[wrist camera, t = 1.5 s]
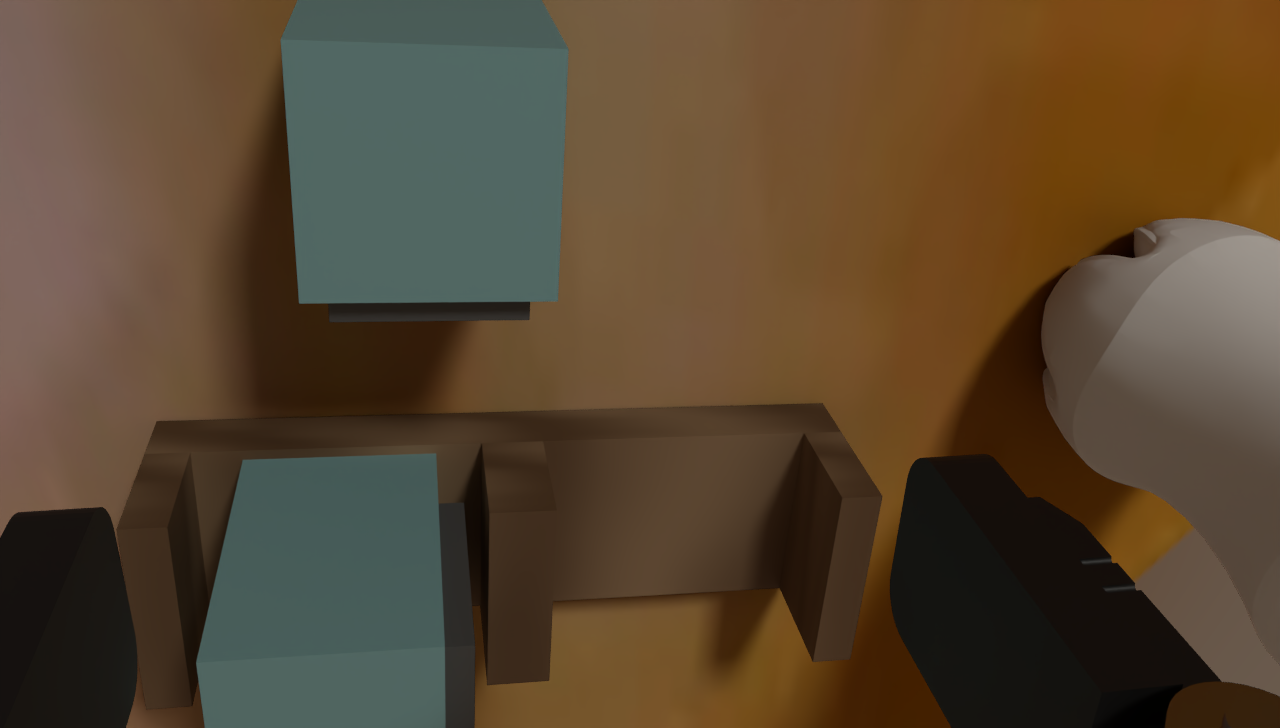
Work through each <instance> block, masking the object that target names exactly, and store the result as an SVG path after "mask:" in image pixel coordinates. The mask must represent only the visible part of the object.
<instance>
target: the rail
mask: <svg viewBox="0 0 1280 728" xmlns="http://www.w3.org/2000/svg"><path fill="white" fill-rule="evenodd" d="M434 453H436V460H437V482H438V504H440V503H464V511H465V524H466V537H467V549H468V562H469V575H470V587H471V600H472V606H479V605H480V609H481V620H482V631H483V642H484V654H485V665H486V676H487V685H496V684H510V683H524V682H538V681H549V674H550V652H551V630H552V608H553V601H564V600H582V599H599V598H616V597H633V596H650V595H667V594H684V593H702V592H719V591H736V590H753V589H770V588H780V590H781V592H782V594H783V596H784V599H785V601H786V603H787V605H788V607H789V610H790V612H791V614H792V616H793V619H794V621H795V623H796V625H797V627H798V630H799V632H800V634H801V636H802V639H803V641H804V643H805V645H806V648H807V650H808V652H809V654H810V656H811V659H812V661H813V662H818V661H832V660H846V659H850V657H851V652H852V647H853V642H854V637H855V632H856V627H857V622H858V617H859V612H860V607H861V602H862V597H863V592H864V587H865V582H866V577H867V572H868V567H869V561H870V556H871V551H872V546H873V541H874V536H875V531H876V526H877V521H878V516H879V511H880V506H881V501H882V495H881V493H880V492H879V490H878V489H877V487H876V486H875V484H874V483H873V481H872V479H871V478H870V476H869V475H868V473H867V472H866V470H865V469H864V467H863V465H862V464H861V462H860V461H859V459H858V458H857V456H856V455H855V453H854V451H853V450H852V448H851V447H850V445H849V444H848V442H847V441H846V439H845V437H844V436H843V434H842V433H841V431H840V430H839V428H838V427H837V425H836V423H835V422H834V420H833V419H832V417H831V416H830V414H829V413H828V411H827V409H826V408H825V406H824V405H823V403H822V404H785V405H747V406H710V407H673V408H636V409H599V410H561V411H524V412H487V413H450V414H413V415H375V416H338V417H301V418H264V419H227V420H189V421H157V422H156V425H155V428H154V430H153V433H152V436H151V438H150V441H149V444H148V446H147V449H146V452H145V454H144V457H143V460H142V463H141V465H140V468H139V471H138V473H137V476H136V479H135V481H134V484H133V487H132V489H131V492H130V495H129V497H128V500H127V503H126V506H125V508H124V511H123V514H122V516H121V519H120V522H119V524H118V527H117V535H118V541H119V548H120V554H121V560H122V566H123V572H124V578H125V584H126V590H127V596H128V601H129V606H130V611H131V615H132V620H133V625H134V630H135V636H136V644H137V657H138V663H139V669H140V675H141V681H142V687H143V693H144V699H145V705H146V709H160V708H174V707H188V706H192V705H193V701H194V696H195V692H196V687H197V683H198V673H197V665H196V661H197V657H198V653H199V648H200V644H201V640H202V635H203V631H204V626H205V622H206V618H207V613H208V609H209V605H210V600H211V596H212V592H213V587H214V583H215V579H216V574H217V570H218V566H219V561H220V557H221V553H222V548H223V544H224V539H225V535H226V531H227V526H228V522H229V518H230V513H231V509H232V505H233V500H234V496H235V492H236V487H237V483H238V479H239V474H240V470H241V465H242V461H243V460H254V459H284V458H314V457H344V456H374V455H404V454H434Z"/></svg>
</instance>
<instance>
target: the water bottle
mask: <svg viewBox="0 0 1280 728" xmlns="http://www.w3.org/2000/svg"><path fill="white" fill-rule="evenodd" d="M1134 254H1135V258H1128V257H1123V256H1117V255H1097V256H1090V257H1087V258H1084V259H1082V260H1080V262H1079V263H1078V264H1077V265H1075V266H1073V267H1072V268H1071V269H1069V270H1068V271H1067V272H1065V273H1064V274H1063V276H1062V277H1061V278H1060V280H1059V281H1058V283H1057V284H1056V285H1055V287H1054V288H1053V290H1052V292H1051V294H1050V296H1049V297H1048V299H1047V301H1046V304H1045V309H1044V314H1043V322H1042V330H1041V341H1042V350H1043V354H1044V358H1045V362H1046V364H1047V368H1046V369H1045V370H1044V372H1043V378H1042V379H1043V386H1044V395H1045V401H1046V406H1047V408H1048V410H1049V412H1050V414H1051V416H1052V417H1053V419H1054V421H1055V423H1056V425H1057V426H1058V428H1059V430H1060V431H1061V433H1062V435H1063V437H1064V438H1065V439H1066V441H1067V442H1068V443H1069V444H1070V446H1071V447H1072V448H1073V449H1074V451H1075V452H1076V453H1077V454H1078V455H1079V456H1080V457H1081V459H1082V460H1083V461H1084V462H1085V463H1086V464H1087V465H1088V466H1089V467H1090V468H1092V469H1093V470H1094V471H1096V472H1097V473H1099V474H1100V475H1102V476H1104V477H1106V478H1108V479H1110V480H1113V481H1115V482H1118V483H1122V484H1125V485H1129V486H1132V487H1136V488H1140V489H1143V490H1146V491H1149V492H1152V493H1153V494H1155V495H1157V496H1158V497H1160V498H1162V499H1163V500H1165V501H1166V502H1167V503H1169V504H1170V505H1171V506H1172V507H1173V508H1174V509H1176V510H1177V511H1178V512H1179V513H1180V514H1182V515H1183V516H1184V517H1185V518H1186V519H1187V520H1188V521H1189V522H1190V523H1191V525H1192V526H1193V527H1194V528H1195V529H1196V530H1197V531H1198V532H1199V533H1200V535H1201V536H1202V537H1203V538H1204V539H1205V541H1206V542H1207V543H1208V545H1209V546H1210V548H1211V549H1212V551H1213V552H1214V554H1215V555H1216V557H1217V558H1218V559H1219V561H1220V562H1221V564H1222V565H1223V567H1224V568H1225V569H1226V571H1227V573H1228V575H1229V577H1230V579H1231V580H1232V582H1233V584H1234V586H1235V588H1236V590H1237V592H1238V594H1239V595H1240V597H1241V599H1242V601H1243V603H1244V605H1245V607H1246V610H1247V612H1248V614H1249V617H1250V619H1251V621H1252V624H1253V626H1254V628H1255V631H1256V633H1257V635H1258V637H1259V639H1260V641H1261V642H1262V644H1263V645H1264V647H1265V649H1266V650H1267V651H1268V653H1269V654H1270V655H1271V656H1272V657H1273V658H1274V660H1275V661H1276V662H1277V663H1278V664H1279V665H1280V241H1278V240H1276V239H1274V238H1272V237H1269V236H1267V235H1265V234H1263V233H1260V232H1257V231H1254V230H1251V229H1248V228H1245V227H1242V226H1239V225H1235V224H1231V223H1226V222H1222V221H1214V220H1204V219H1189V218H1179V219H1167V220H1157V221H1154V222H1152V223H1149V224H1147V225H1145V226H1143V227H1140V228H1136V229H1134Z"/></svg>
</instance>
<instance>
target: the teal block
mask: <svg viewBox="0 0 1280 728" xmlns="http://www.w3.org/2000/svg"><path fill="white" fill-rule="evenodd" d="M281 51H282V66H283V80H284V94H285V109H286V123H287V137H288V152H289V166H290V180H291V195H292V209H293V223H294V238H295V252H296V266H297V281H298V295H299V304H305V303H328V307H329V322H389V321H475V320H529V316H530V302H537V301H558V285H559V261H560V238H561V214H562V190H563V166H564V142H565V119H566V95H567V71H568V47H567V46H566V44H565V42H564V40H563V38H562V36H561V35H560V33H559V31H558V29H557V27H556V26H555V24H554V22H553V20H552V18H551V17H550V15H549V13H548V11H547V9H546V7H545V6H544V4H543V2H542V0H298V1H297V3H296V6H295V8H294V10H293V12H292V15H291V17H290V19H289V22H288V24H287V26H286V28H285V31H284V33H283V35H282V38H281Z"/></svg>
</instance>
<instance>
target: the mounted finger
mask: <svg viewBox="0 0 1280 728" xmlns="http://www.w3.org/2000/svg"><path fill="white" fill-rule="evenodd" d="M196 665H197V673H198V680H199V688H200V695H201V702H202V710H203V717H204V725H205V728H474V722H475V638H474V626H473V613H472V600H471V587H470V575H469V562H468V549H467V537H466V524H465V511H464V503H440V504H438V482H437V460H436V453H434V454H404V455H374V456H344V457H314V458H284V459H254V460H243V461H242V465H241V470H240V474H239V479H238V483H237V487H236V492H235V496H234V500H233V505H232V509H231V513H230V518H229V522H228V526H227V531H226V535H225V539H224V544H223V548H222V553H221V557H220V561H219V566H218V570H217V574H216V579H215V583H214V587H213V592H212V596H211V600H210V605H209V609H208V613H207V618H206V622H205V626H204V631H203V635H202V640H201V644H200V648H199V653H198V657H197V661H196Z"/></svg>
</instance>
